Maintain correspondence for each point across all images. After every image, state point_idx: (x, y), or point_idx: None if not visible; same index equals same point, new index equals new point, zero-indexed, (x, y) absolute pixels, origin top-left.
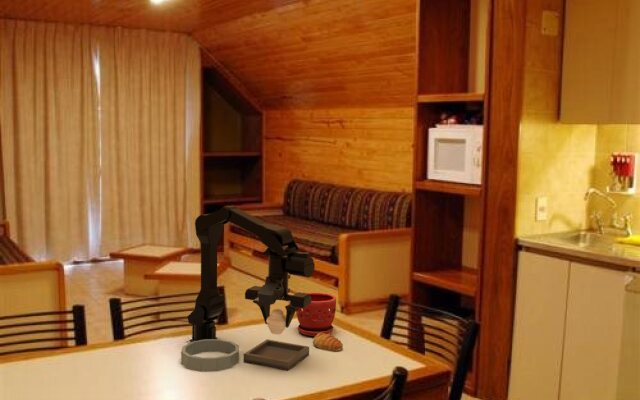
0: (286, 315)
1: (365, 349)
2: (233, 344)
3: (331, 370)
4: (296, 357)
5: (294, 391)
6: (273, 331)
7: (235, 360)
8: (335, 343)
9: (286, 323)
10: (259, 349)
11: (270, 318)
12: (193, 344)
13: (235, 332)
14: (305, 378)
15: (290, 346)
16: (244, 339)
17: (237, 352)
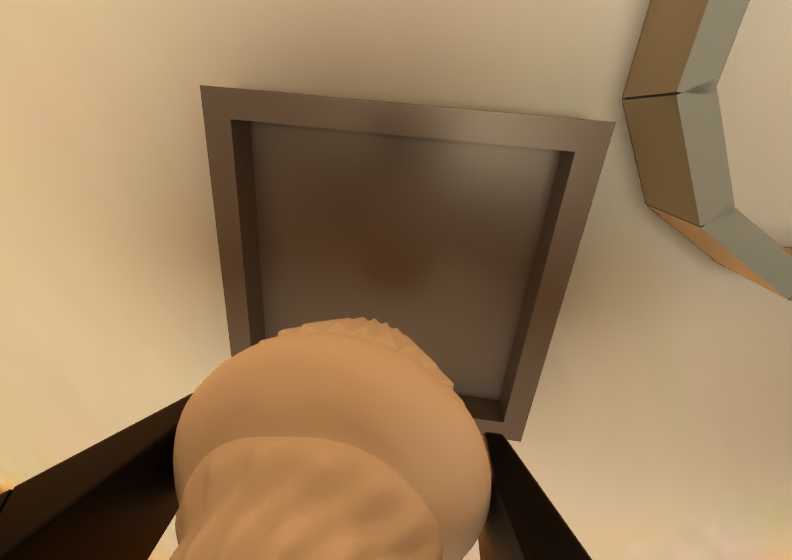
0: (18, 532)
1: None
2: (762, 235)
3: (43, 207)
4: (221, 229)
5: None
6: (364, 323)
7: (659, 31)
8: None
9: (165, 420)
10: (526, 309)
11: (385, 455)
12: None
13: (749, 541)
14: (73, 7)
15: None
16: (675, 472)
17: (682, 60)
